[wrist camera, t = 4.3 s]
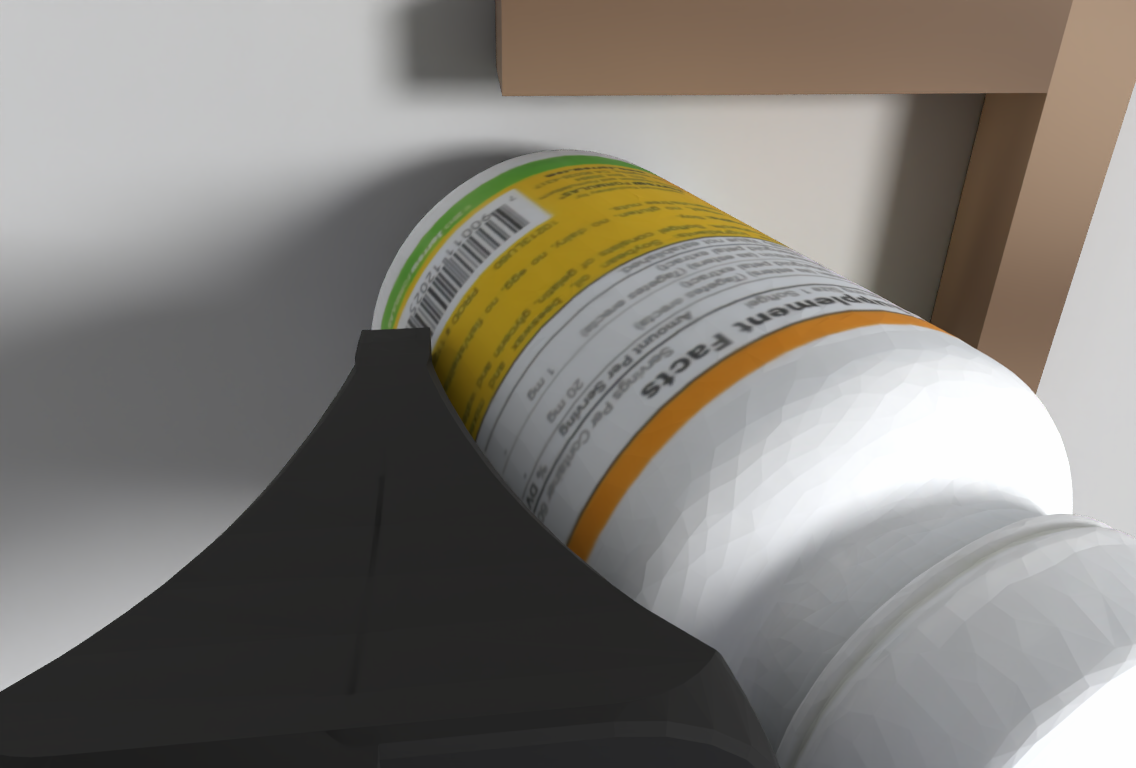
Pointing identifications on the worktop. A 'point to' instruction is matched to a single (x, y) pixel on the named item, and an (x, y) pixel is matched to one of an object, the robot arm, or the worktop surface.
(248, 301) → the worktop surface
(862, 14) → the walnut stop
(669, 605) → the supplement bottle
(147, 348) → the worktop surface
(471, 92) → the worktop surface
